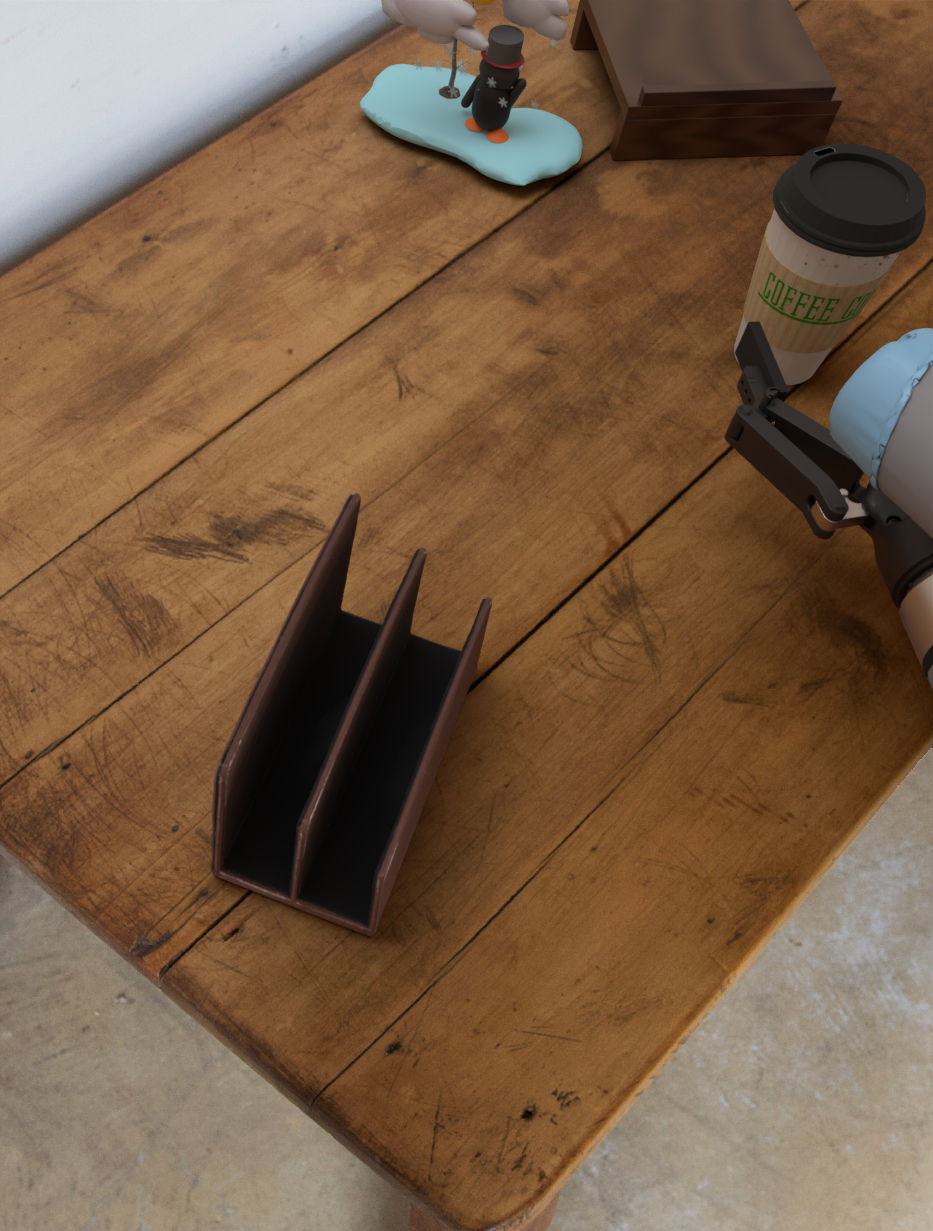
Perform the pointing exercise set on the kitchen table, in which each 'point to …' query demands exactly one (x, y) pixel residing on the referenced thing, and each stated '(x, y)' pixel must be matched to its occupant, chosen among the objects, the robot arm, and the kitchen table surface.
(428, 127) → the penguin figurine
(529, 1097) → the kitchen table surface
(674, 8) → the brown wooden stand
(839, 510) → the robot arm
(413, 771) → the letter holder
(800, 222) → the coffee cup
